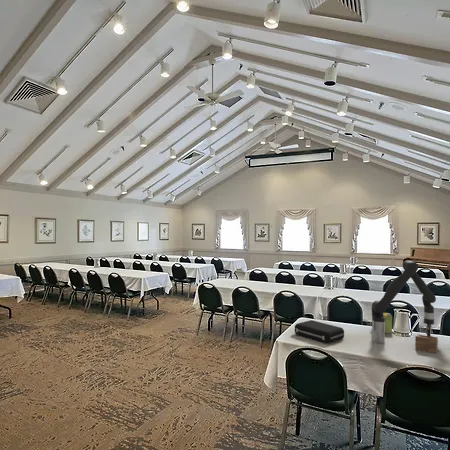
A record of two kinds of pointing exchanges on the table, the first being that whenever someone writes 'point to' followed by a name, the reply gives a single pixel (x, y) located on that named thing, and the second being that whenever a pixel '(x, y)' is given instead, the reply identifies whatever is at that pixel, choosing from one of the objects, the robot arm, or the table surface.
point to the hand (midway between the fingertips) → (428, 338)
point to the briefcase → (319, 331)
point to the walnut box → (426, 343)
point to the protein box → (387, 322)
